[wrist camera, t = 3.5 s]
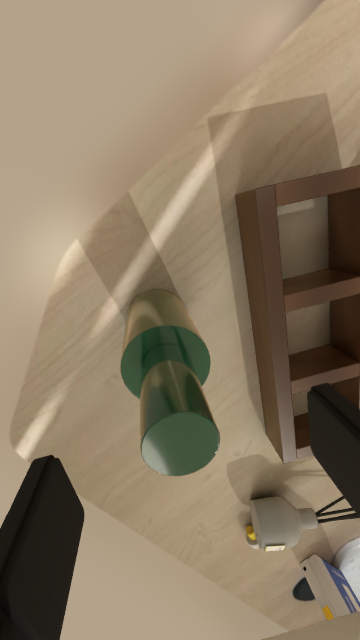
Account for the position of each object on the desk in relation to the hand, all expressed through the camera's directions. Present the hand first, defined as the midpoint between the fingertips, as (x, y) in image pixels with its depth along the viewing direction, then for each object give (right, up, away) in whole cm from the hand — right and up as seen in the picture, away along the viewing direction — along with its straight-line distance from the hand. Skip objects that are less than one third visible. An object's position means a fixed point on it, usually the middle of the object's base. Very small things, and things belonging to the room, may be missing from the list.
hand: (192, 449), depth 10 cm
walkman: (+20, -32, +31) cm, 48 cm away
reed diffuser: (+17, -17, +25) cm, 35 cm away
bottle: (-2, +5, +14) cm, 15 cm away
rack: (+11, +4, +16) cm, 20 cm away
